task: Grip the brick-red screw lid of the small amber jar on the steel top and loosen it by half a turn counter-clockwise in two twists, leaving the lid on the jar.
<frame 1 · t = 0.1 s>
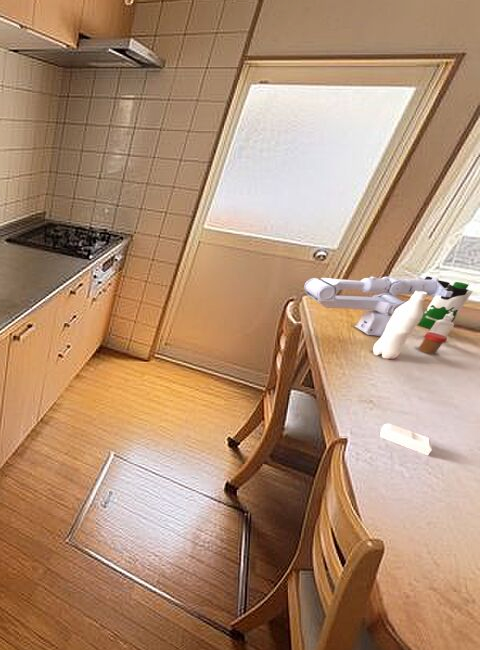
hand: (456, 288, 161), 22 cm above the table, tool horizontal, fingers open, 7 cm apart
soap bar: (402, 442, 109), on the table
water bottle: (382, 356, 154), on the table
lid: (436, 336, 157), point 6 cm above the table, screwed on, not yet turned
milk carton: (431, 327, 183), on the table
jar: (426, 351, 160), on the table
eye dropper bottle: (434, 339, 171), on the table
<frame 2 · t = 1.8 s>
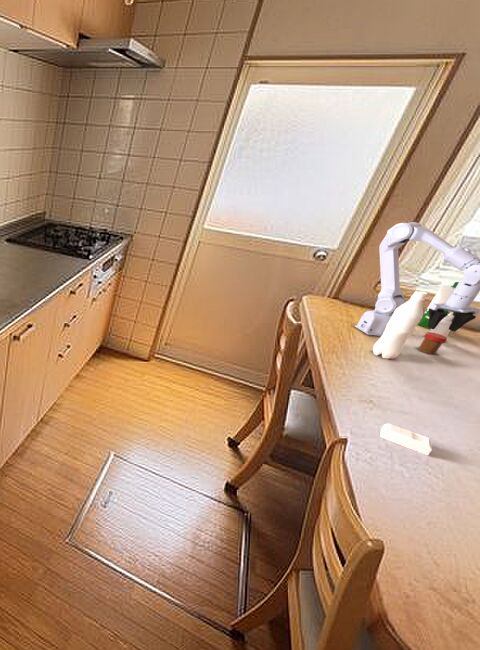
hand: (441, 329, 155), 9 cm above the table, tool pointing down, fingers open, 7 cm apart
nothing on the table moved.
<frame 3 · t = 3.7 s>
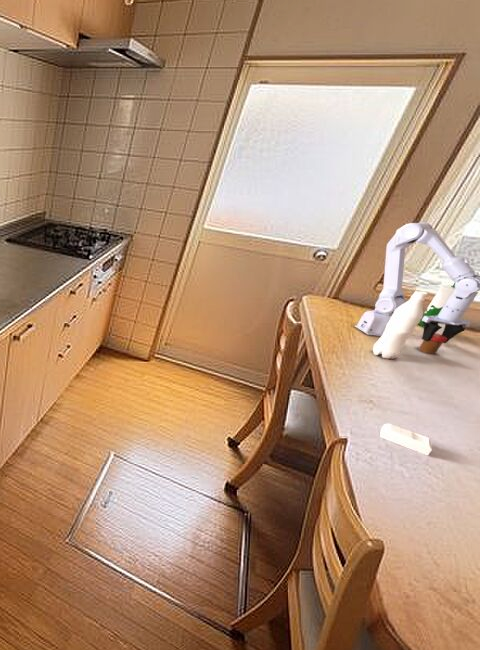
hand: (433, 341, 158), 4 cm above the table, tool pointing down, fingers closed on lid, 5 cm apart
lid: (436, 336, 157), point 6 cm above the table, screwed on, not yet turned, touching gripper
everything else where it was.
when the fingers open (0 cm above the table, at t = 7.4 s): lid stays where it is, point 7 cm above the table.
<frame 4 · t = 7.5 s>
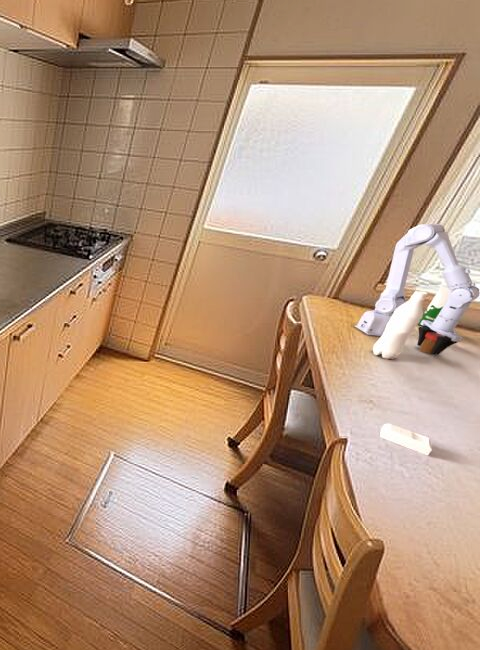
hand: (427, 349, 159), 1 cm above the table, tool pointing down, fingers open, 6 cm apart
lid: (436, 335, 157), point 7 cm above the table, turned 87° so far, risen 0.1 cm, still on its thread
everything else where it was.
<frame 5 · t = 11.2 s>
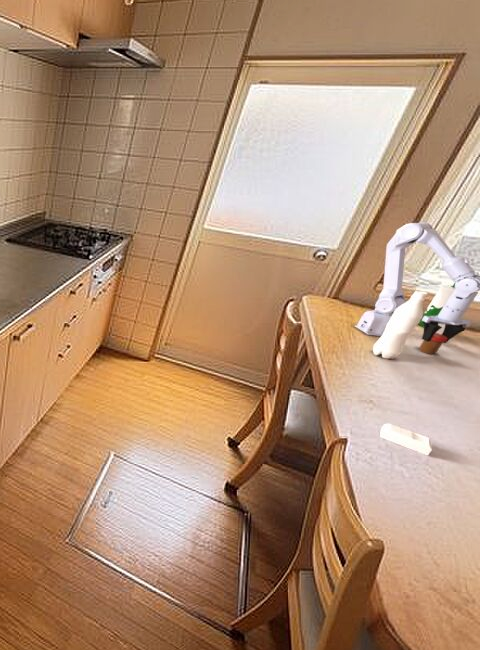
hand: (433, 341, 158), 4 cm above the table, tool pointing down, fingers closed on lid, 5 cm apart
lid: (436, 335, 157), point 7 cm above the table, turned 87° so far, risen 0.1 cm, still on its thread, touching gripper
everything else where it was.
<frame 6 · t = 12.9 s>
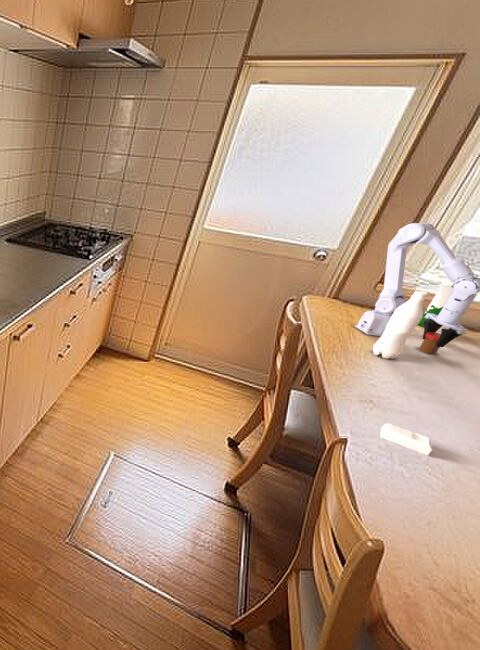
hand: (432, 343, 158), 4 cm above the table, tool pointing down, fingers closed on lid, 5 cm apart
lid: (437, 335, 157), point 7 cm above the table, turned 175° so far, risen 0.2 cm, still on its thread, touching gripper
everything else where it was.
when the fingers open (0 cm above the table, at t = 14.4 s): lid stays where it is, point 7 cm above the table.
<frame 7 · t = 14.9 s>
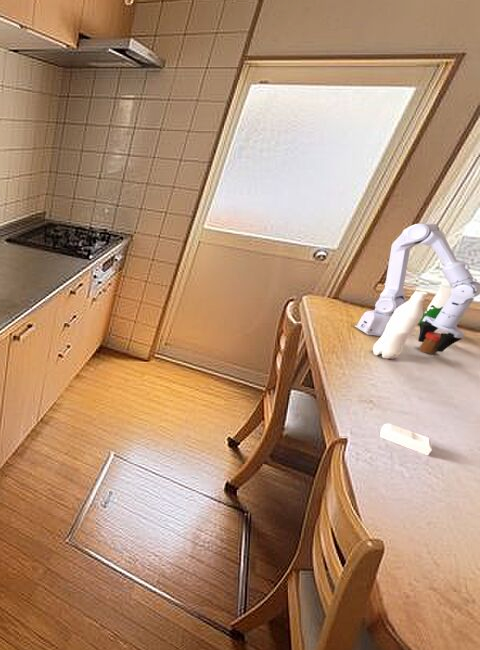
hand: (429, 346, 159), 2 cm above the table, tool pointing down, fingers open, 7 cm apart
lid: (437, 335, 157), point 7 cm above the table, turned 175° so far, risen 0.2 cm, still on its thread
everything else where it was.
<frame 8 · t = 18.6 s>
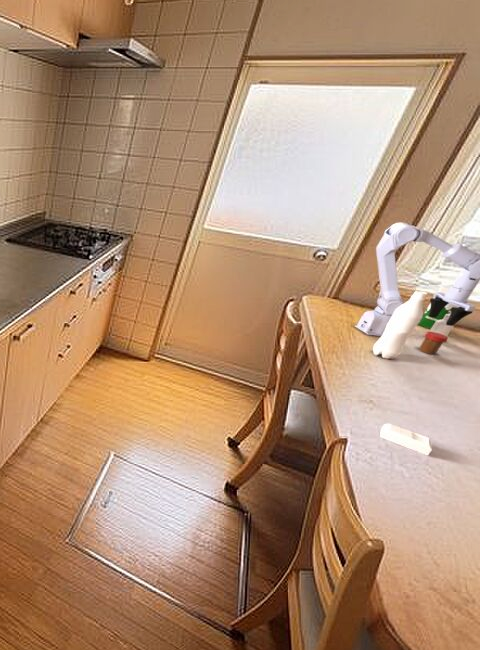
hand: (440, 321, 162), 10 cm above the table, tool pointing down, fingers open, 7 cm apart
nothing on the table moved.
at the end: lid turned 0.49 turns (still on its thread); lid is still on its thread (0.49 turns); jar tilted 0° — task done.
